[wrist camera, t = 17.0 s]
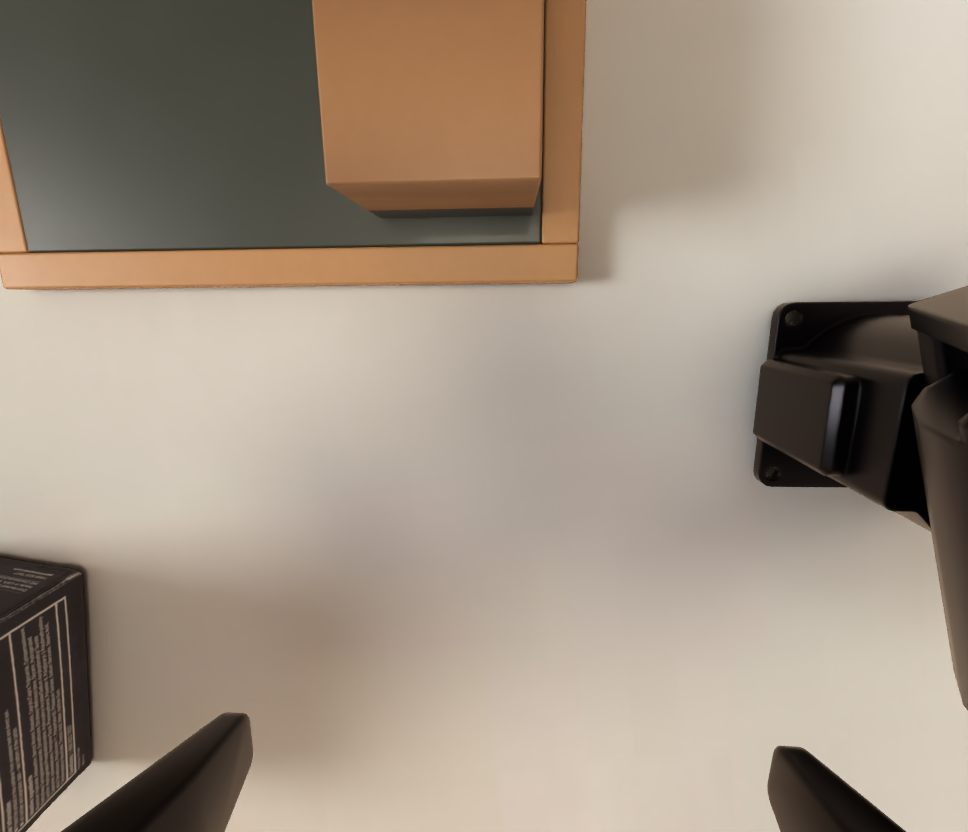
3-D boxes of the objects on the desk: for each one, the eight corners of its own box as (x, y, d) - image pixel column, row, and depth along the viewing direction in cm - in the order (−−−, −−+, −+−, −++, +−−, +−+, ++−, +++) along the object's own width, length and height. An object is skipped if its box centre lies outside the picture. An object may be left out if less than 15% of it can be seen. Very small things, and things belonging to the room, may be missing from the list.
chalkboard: (591, -321, 14) (598, -369, 13) (574, 282, 17) (577, 281, 16) (-90, -268, 15) (-133, -308, 14) (29, 289, 18) (2, 288, 17)
